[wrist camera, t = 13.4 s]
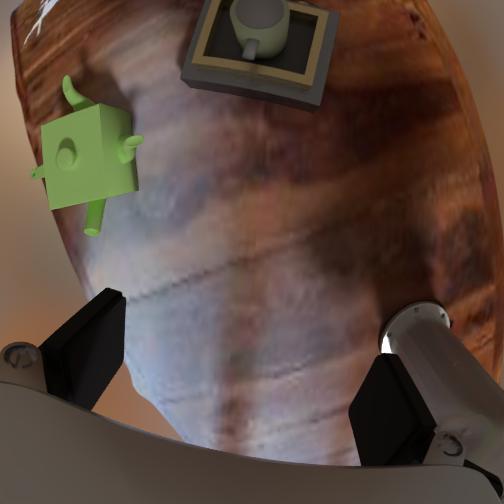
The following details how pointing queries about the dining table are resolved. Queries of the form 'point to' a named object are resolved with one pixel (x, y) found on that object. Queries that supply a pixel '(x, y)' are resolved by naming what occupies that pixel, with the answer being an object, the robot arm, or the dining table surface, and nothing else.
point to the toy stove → (263, 70)
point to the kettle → (88, 156)
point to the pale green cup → (260, 27)
